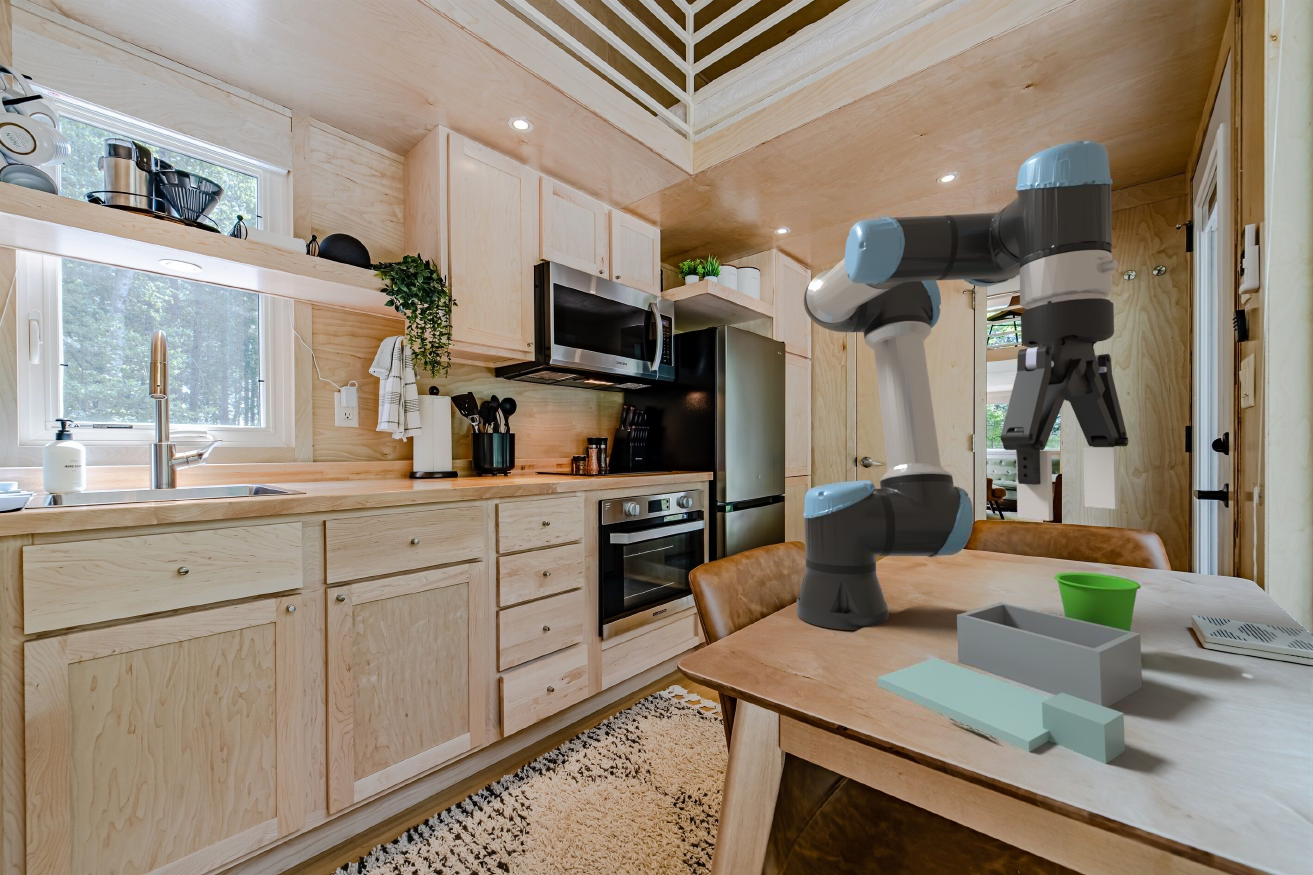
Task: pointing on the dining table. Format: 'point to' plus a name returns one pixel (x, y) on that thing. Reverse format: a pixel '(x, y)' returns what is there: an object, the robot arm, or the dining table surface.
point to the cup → (1098, 598)
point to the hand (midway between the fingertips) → (1070, 513)
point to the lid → (1011, 709)
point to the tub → (1051, 652)
